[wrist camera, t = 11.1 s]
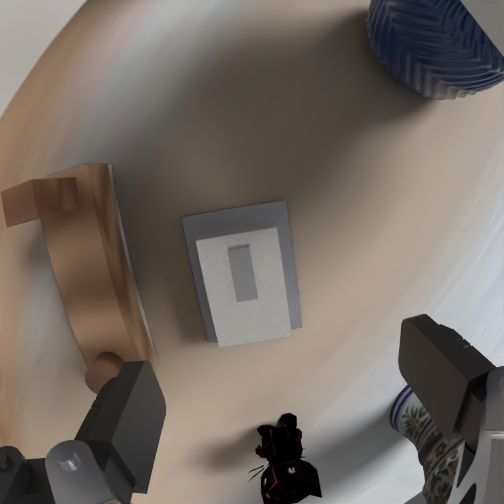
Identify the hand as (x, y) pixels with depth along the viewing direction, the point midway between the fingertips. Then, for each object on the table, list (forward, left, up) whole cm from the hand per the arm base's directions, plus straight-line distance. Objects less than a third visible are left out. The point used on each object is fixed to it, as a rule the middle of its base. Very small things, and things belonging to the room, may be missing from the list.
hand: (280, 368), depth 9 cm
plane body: (+1, -14, -19) cm, 24 cm away
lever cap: (+3, -1, -19) cm, 19 cm away
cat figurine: (+23, 0, -20) cm, 30 cm away
